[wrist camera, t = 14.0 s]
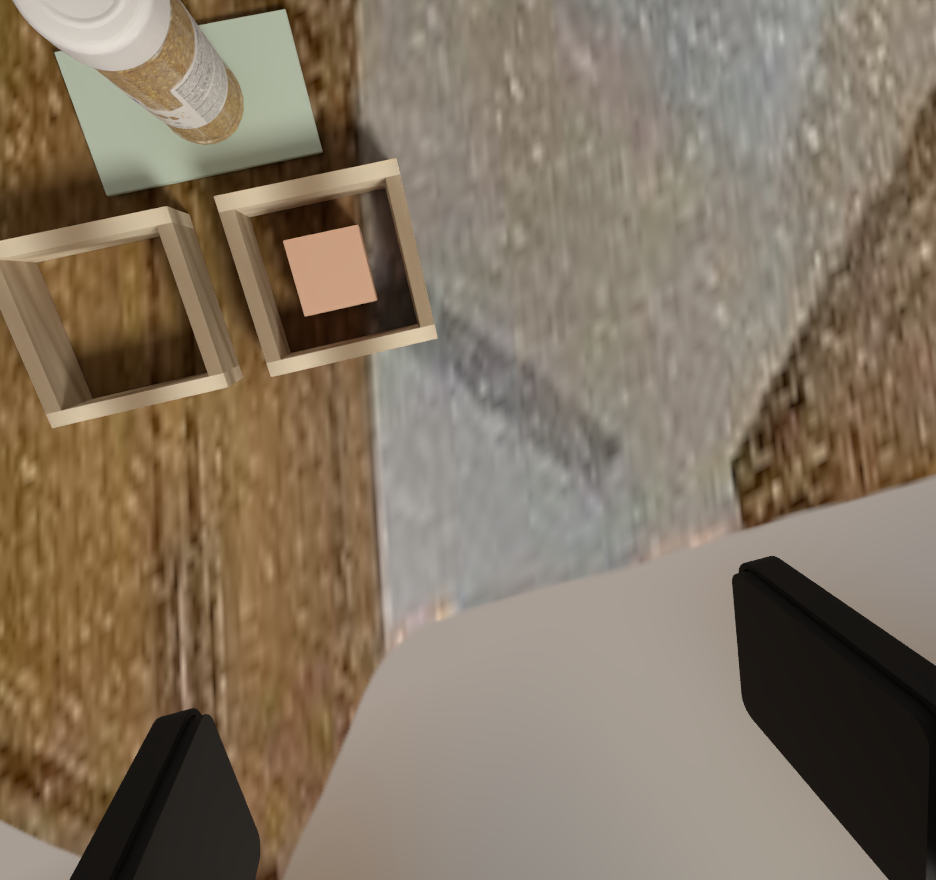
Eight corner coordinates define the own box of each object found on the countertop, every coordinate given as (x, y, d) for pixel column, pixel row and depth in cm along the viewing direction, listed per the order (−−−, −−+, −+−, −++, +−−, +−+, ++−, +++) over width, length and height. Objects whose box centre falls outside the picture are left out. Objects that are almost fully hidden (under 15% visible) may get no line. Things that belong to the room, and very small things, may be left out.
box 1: (189, 214, 33) (166, 206, 29) (243, 377, 35) (228, 387, 32) (16, 250, 32) (-28, 246, 29) (84, 414, 35) (52, 428, 31)
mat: (286, 12, 31) (285, 9, 30) (323, 152, 33) (322, 151, 32) (58, 55, 30) (54, 52, 30) (110, 196, 32) (106, 195, 32)
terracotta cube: (361, 231, 34) (357, 224, 30) (378, 298, 35) (376, 300, 32) (294, 245, 34) (282, 240, 30) (313, 313, 35) (304, 316, 31)
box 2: (395, 171, 34) (396, 158, 30) (432, 333, 36) (437, 338, 33) (231, 205, 33) (213, 196, 30) (281, 368, 36) (270, 377, 32)
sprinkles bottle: (142, 112, 31) (-33, -13, 18) (182, 33, 30) (29, -157, 17) (222, 165, 32) (112, 82, 19) (262, 89, 31) (176, -49, 18)
